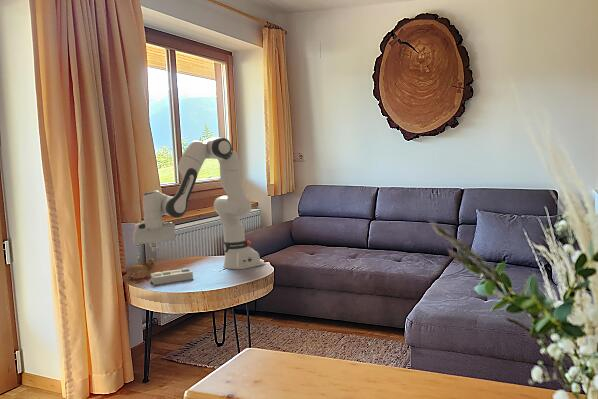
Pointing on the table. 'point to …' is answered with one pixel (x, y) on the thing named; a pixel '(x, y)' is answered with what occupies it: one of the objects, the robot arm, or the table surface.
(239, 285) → the table surface
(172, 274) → the keypad
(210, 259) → the table surface
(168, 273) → the key sage
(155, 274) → the key cream
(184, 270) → the key slate
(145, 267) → the lion figurine
